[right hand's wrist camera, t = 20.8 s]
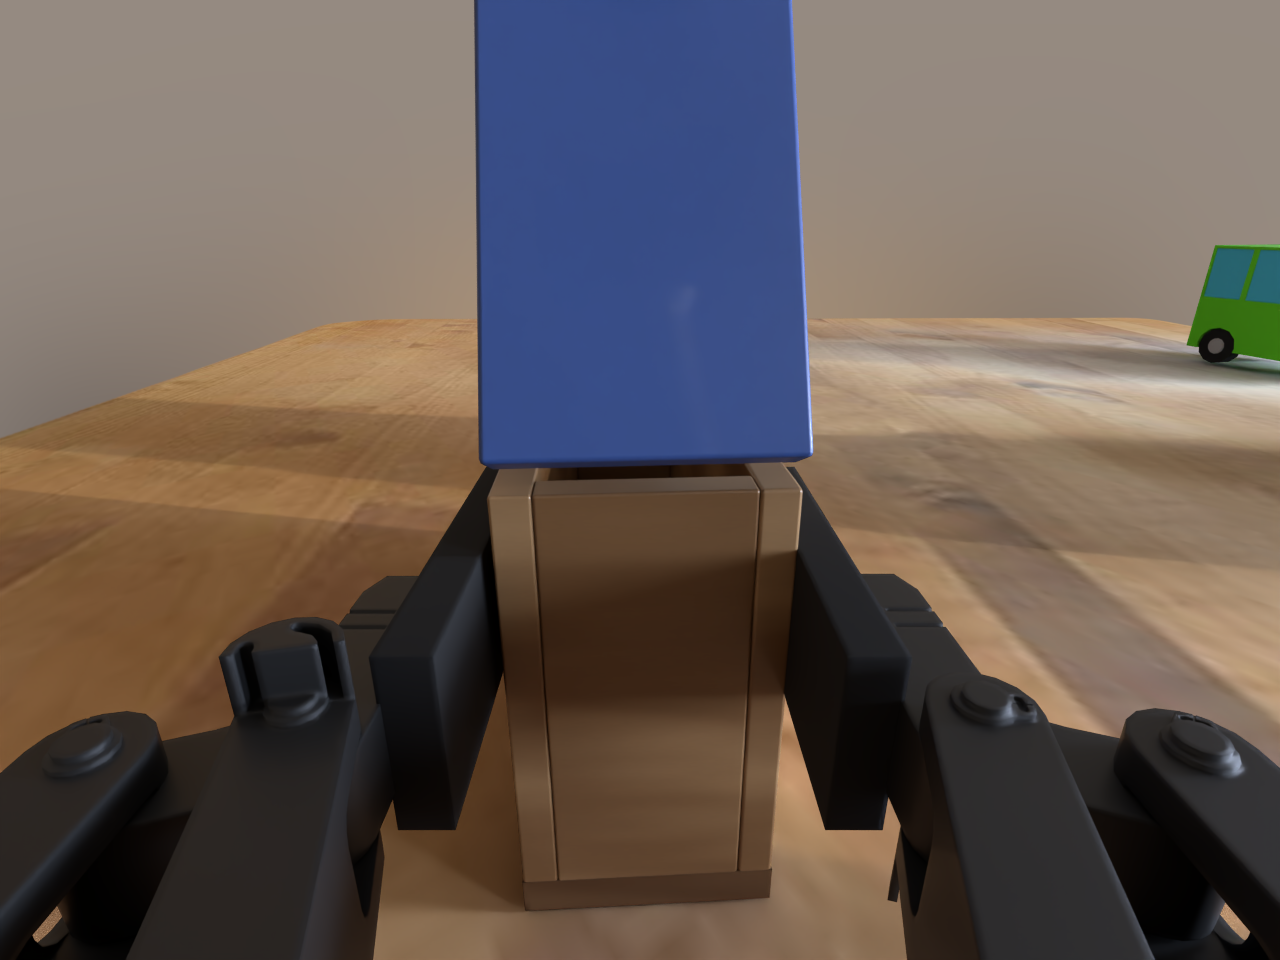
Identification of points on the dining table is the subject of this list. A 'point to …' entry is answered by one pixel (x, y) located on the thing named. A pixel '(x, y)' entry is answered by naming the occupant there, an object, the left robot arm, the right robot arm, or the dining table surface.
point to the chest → (645, 675)
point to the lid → (639, 234)
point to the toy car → (1239, 304)
